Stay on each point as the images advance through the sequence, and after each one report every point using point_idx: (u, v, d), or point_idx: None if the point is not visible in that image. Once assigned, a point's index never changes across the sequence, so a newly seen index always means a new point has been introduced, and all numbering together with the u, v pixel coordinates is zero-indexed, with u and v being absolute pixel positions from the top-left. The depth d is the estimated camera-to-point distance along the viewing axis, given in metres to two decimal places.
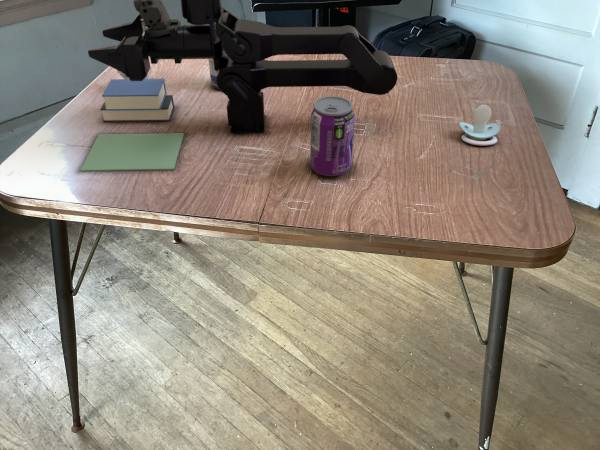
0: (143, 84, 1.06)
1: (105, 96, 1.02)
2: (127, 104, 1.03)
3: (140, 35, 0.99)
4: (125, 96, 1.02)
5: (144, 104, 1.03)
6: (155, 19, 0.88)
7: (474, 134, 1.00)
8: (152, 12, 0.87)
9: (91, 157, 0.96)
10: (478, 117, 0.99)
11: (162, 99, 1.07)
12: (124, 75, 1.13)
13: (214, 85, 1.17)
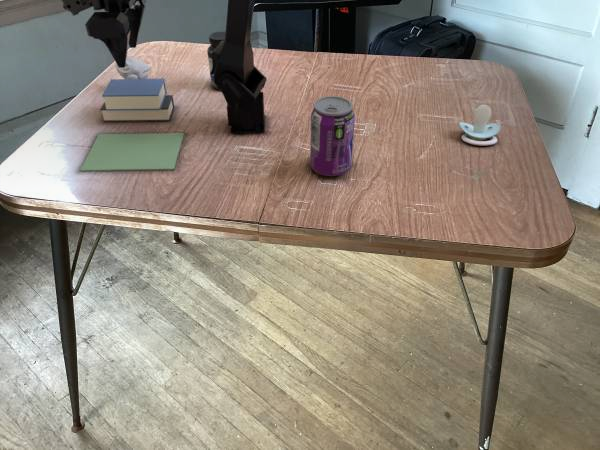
0: (143, 84, 1.06)
1: (105, 96, 1.02)
2: (127, 104, 1.03)
3: (130, 12, 1.01)
4: (125, 96, 1.02)
5: (144, 104, 1.03)
6: None
7: (474, 134, 1.00)
8: None
9: (91, 157, 0.96)
10: (478, 117, 0.99)
11: (162, 99, 1.07)
12: (124, 75, 1.13)
13: (214, 85, 1.17)
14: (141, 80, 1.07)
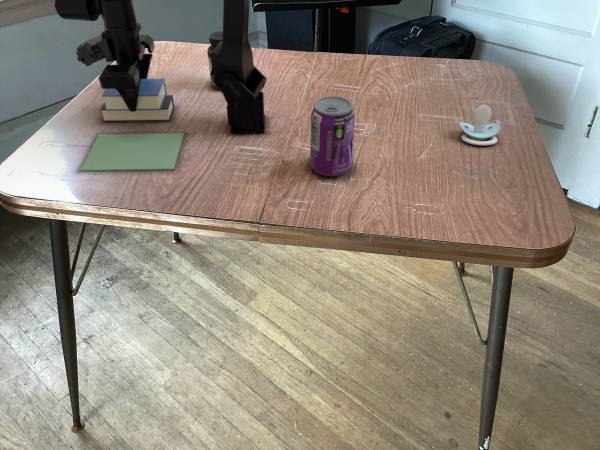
0: (143, 84, 1.06)
1: (105, 96, 1.02)
2: None
3: (138, 61, 1.06)
4: None
5: (144, 104, 1.03)
6: (88, 51, 0.96)
7: (474, 134, 1.00)
8: (82, 53, 0.96)
9: (91, 157, 0.96)
10: (478, 117, 0.99)
11: (162, 99, 1.07)
12: None
13: (214, 85, 1.17)
14: (141, 80, 1.07)
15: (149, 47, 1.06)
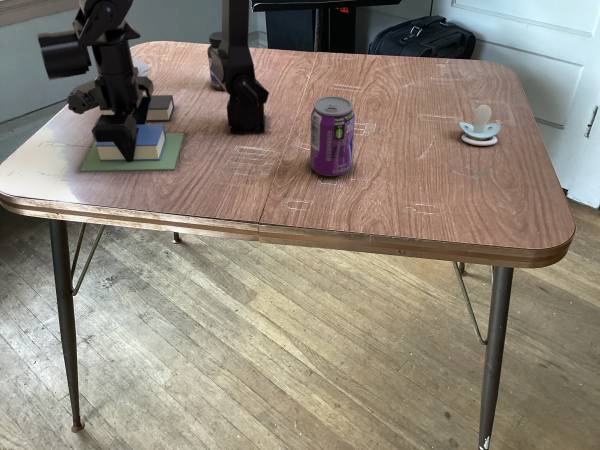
0: (141, 131, 0.96)
1: (99, 146, 0.93)
2: None
3: None
4: None
5: (141, 154, 0.94)
6: (80, 100, 0.87)
7: (474, 134, 1.00)
8: (73, 102, 0.87)
9: (91, 157, 0.96)
10: (478, 117, 0.99)
11: (162, 147, 0.97)
12: None
13: (214, 85, 1.17)
14: (138, 126, 0.98)
15: (148, 90, 0.96)
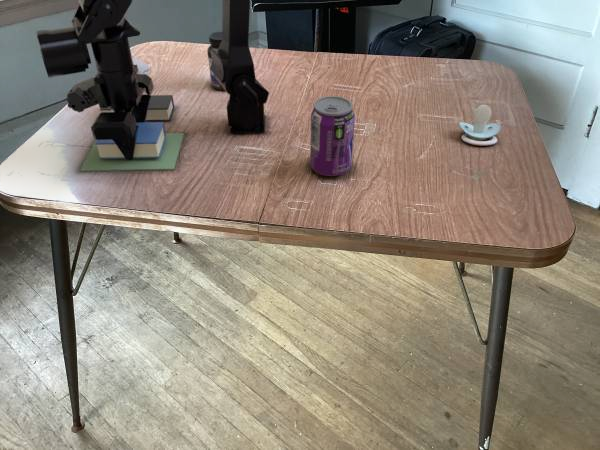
0: (140, 129, 0.96)
1: (98, 144, 0.93)
2: None
3: None
4: None
5: (141, 152, 0.94)
6: (79, 98, 0.86)
7: (474, 134, 1.00)
8: (72, 99, 0.87)
9: (91, 157, 0.96)
10: (478, 117, 0.99)
11: (161, 145, 0.97)
12: None
13: (214, 85, 1.17)
14: (138, 124, 0.97)
15: (147, 88, 0.96)
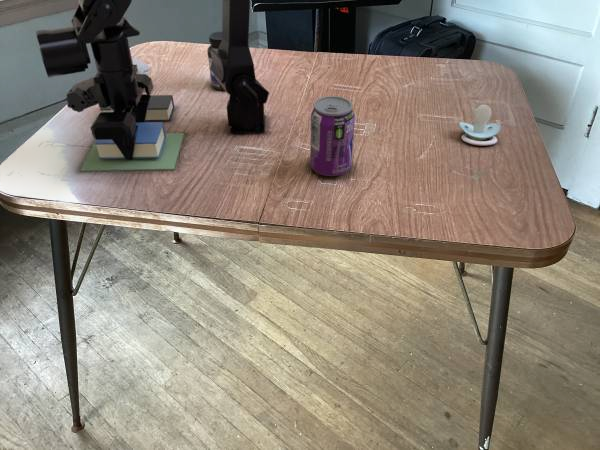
0: (140, 129, 0.96)
1: (98, 144, 0.93)
2: None
3: None
4: None
5: (141, 152, 0.94)
6: (79, 98, 0.86)
7: (474, 134, 1.00)
8: (72, 99, 0.87)
9: (91, 157, 0.96)
10: (478, 117, 0.99)
11: (161, 145, 0.97)
12: None
13: (214, 85, 1.17)
14: (138, 124, 0.97)
15: (147, 88, 0.96)
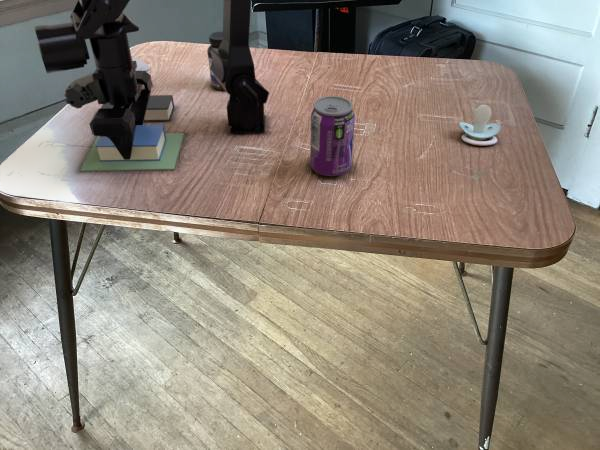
0: (141, 132, 0.96)
1: (99, 147, 0.93)
2: None
3: None
4: None
5: (141, 154, 0.94)
6: (78, 94, 0.86)
7: (474, 134, 1.00)
8: (71, 95, 0.86)
9: (91, 157, 0.96)
10: (478, 117, 0.99)
11: (161, 147, 0.98)
12: None
13: (214, 85, 1.17)
14: (138, 127, 0.98)
15: (146, 85, 0.96)
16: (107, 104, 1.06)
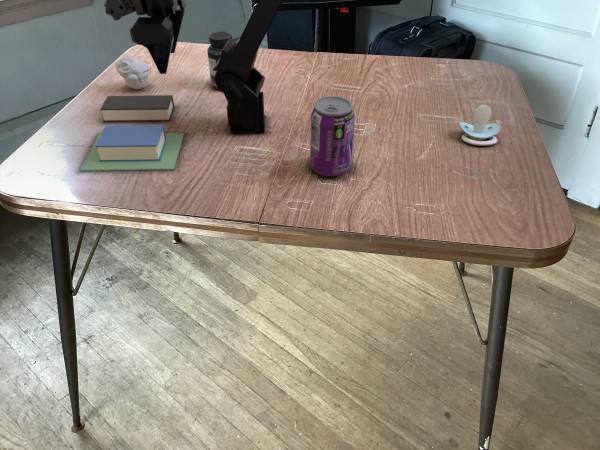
0: (141, 132, 0.96)
1: (99, 147, 0.93)
2: (123, 155, 0.94)
3: (170, 16, 0.99)
4: (121, 146, 0.93)
5: (141, 154, 0.94)
6: (117, 2, 0.88)
7: (474, 134, 1.00)
8: (111, 4, 0.88)
9: (91, 157, 0.96)
10: (478, 117, 0.99)
11: (161, 147, 0.98)
12: (124, 75, 1.13)
13: (214, 85, 1.17)
14: (138, 127, 0.98)
15: (181, 3, 0.97)
16: (107, 104, 1.06)
